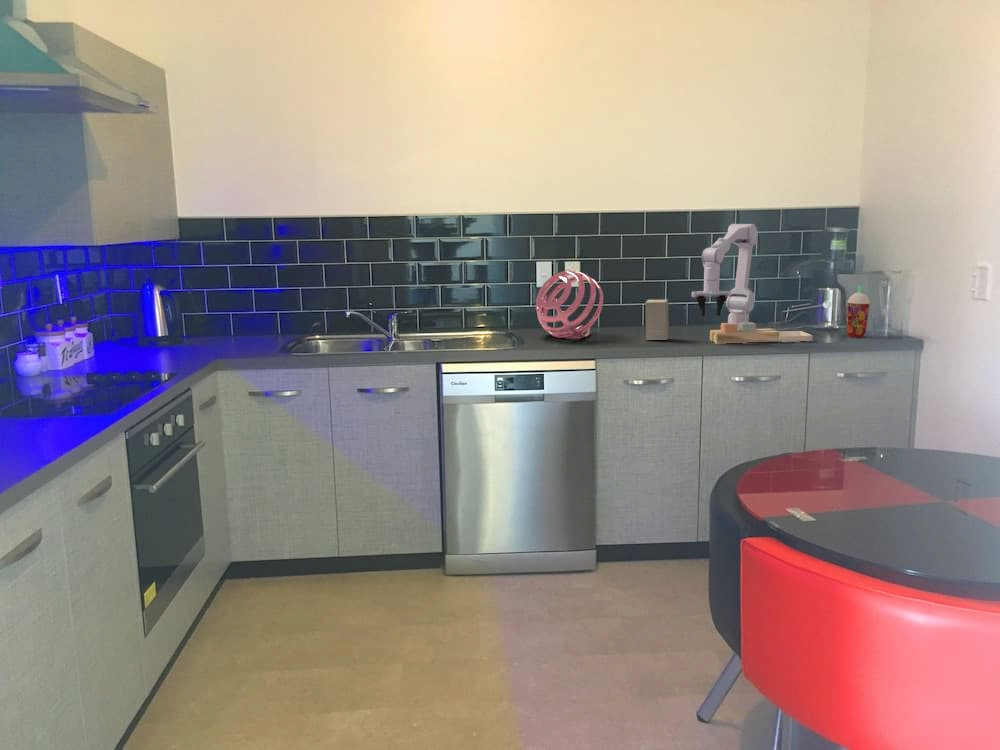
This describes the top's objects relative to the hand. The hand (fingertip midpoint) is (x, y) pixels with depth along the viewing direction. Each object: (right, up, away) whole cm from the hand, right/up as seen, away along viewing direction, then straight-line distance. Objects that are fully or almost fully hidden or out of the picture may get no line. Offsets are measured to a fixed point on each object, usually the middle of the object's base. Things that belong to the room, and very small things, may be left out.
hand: (710, 315), depth 321 cm
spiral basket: (-53, -8, +19) cm, 57 cm away
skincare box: (-19, -9, +10) cm, 23 cm away
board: (+14, -10, +3) cm, 17 cm away
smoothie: (+59, -8, +9) cm, 61 cm away
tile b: (+15, -6, +2) cm, 16 cm away
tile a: (+8, -6, +2) cm, 10 cm away
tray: (+32, -9, +4) cm, 34 cm away
